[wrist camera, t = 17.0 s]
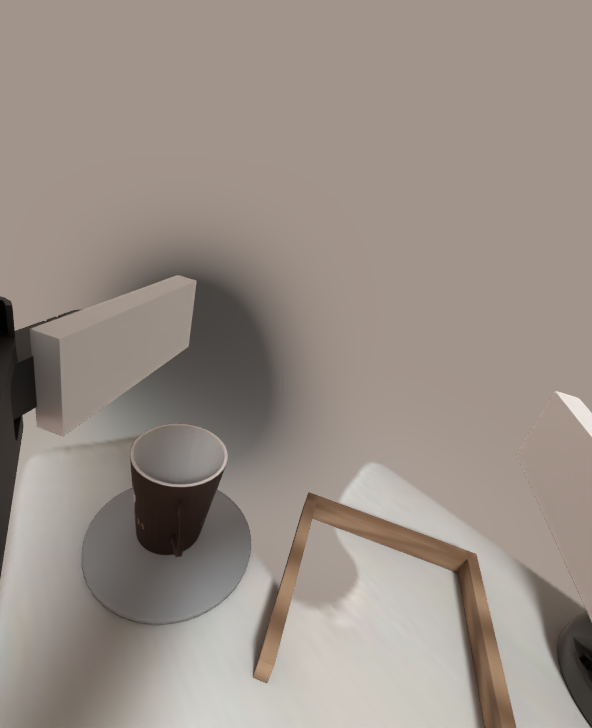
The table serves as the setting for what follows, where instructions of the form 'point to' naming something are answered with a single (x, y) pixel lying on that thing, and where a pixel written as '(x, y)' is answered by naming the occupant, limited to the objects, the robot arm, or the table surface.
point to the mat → (164, 564)
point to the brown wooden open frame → (417, 545)
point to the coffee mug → (174, 484)
